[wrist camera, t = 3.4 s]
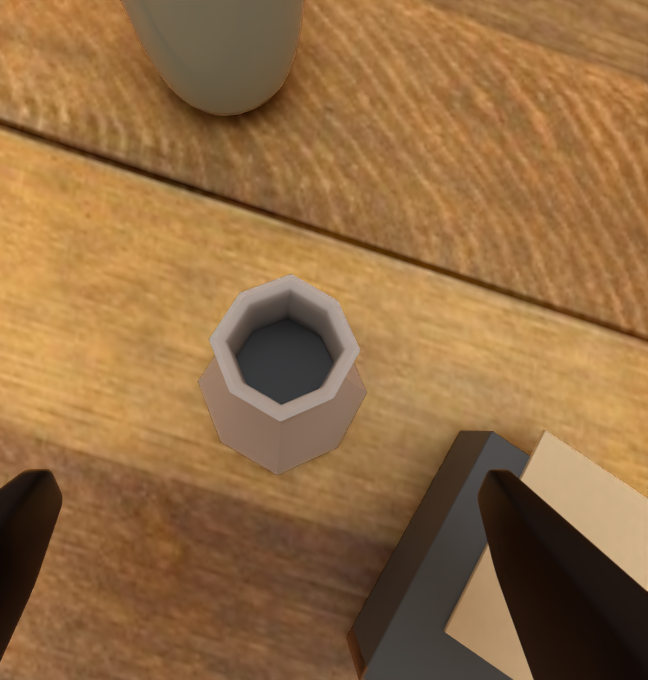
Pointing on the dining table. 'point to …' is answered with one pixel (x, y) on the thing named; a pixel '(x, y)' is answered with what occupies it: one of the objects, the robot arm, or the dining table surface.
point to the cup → (219, 48)
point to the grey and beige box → (482, 563)
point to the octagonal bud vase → (283, 374)
